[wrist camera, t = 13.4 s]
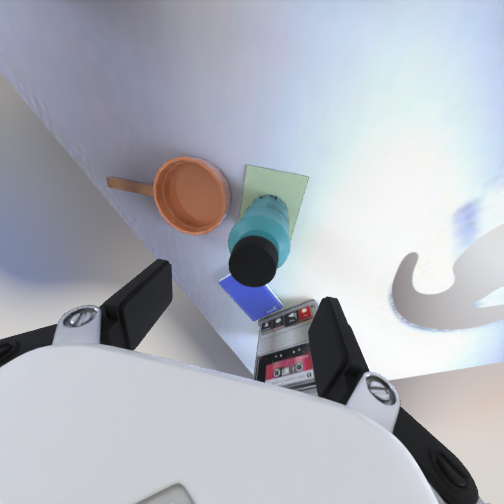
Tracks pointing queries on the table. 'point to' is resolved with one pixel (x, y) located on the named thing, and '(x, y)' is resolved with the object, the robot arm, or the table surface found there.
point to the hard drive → (252, 298)
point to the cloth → (274, 190)
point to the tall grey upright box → (287, 350)
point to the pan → (191, 195)
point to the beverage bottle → (259, 242)
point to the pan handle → (130, 186)
